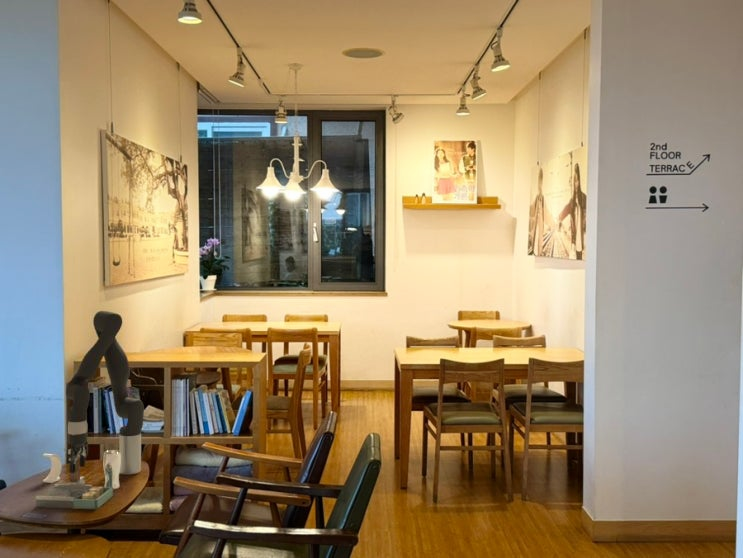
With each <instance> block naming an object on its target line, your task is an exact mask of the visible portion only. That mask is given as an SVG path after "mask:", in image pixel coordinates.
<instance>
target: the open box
mask: <svg viewBox="0 0 743 558" xmlns="http://www.w3.org/2000/svg"><path fill="white" fill-rule="evenodd" d="M91 487H93V485H92V484H83V485H79V484H67V483H55V484H54V487H52V488H51V489H50V490H48V491H47V492H45V493H44V494H42V495H35V507H36V508H44V509H45V508H49V509H69V510H70V509H72V510H73V509H74V499H82V495H83V494H84V493H86V492H89V489H91ZM74 510H75V509H74Z"/></svg>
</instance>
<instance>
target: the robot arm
mask: <svg viewBox="0 0 743 558" xmlns="http://www.w3.org/2000/svg"><path fill="white" fill-rule="evenodd" d="M92 322H93V328H94V330H95V333H96V335H97V337H98V339H97V340H96V342H95V344H93V345H92V347H91V348H89V350H88V351H87V352H86V353H85V354H84V356H83V358H82V360H81V362H80V364H79V367H78V369H77V370H76V371H77V372H76V373H75V374H74V375H73V377H72V378H71V379H70V381H69V382H68V385H67V386H66V389H65V396H66V397H67V398H68V399H70V400H72V401H73V402H72V406H70V407H69V409H68V422H67V443H68V444H69V445H70V448H67V449H66V455H65V456H66V457H65V458H66V461H65V464H66V465H69V466H68V467H69V469H68V470H69V472H70V473H75V466H76V464H75V463H76V460H77V459H78V458H80V468H81V467H82V468H83V467H85V466H86V458H87V456H88V455H89V441H88V422H87V421H88V417H87V416H88V412H87V411H88V410H87V409H88V406H89V402H90V397H91V392H90V389H89V387H88V386H87V383H88V382H89V381H91V380H94V377H95V375H96V374H97V371H98V369H99V366H100V364H101V362H102V360H103V358H104V362H105V366H106V370H107V374H108V377H109V381H110V386H111V389H112V395H113V403H114V409H115V413H116V415H117V416H118V417H119V418H122V419H126V420H127V422H126V425H123V426H121V427H120V428H119V443H118V444H119V447H118V448H119V449H118V450H119V451H121V468H120V473H119V475H127V476H128V475H129V476H130V475H135V474H139V473H140V472H141V471H142V428H143V425H144V410H145V406H144V403H143V401H142V400H141V399H138V398H135V397H134V398H133V397H130V395H129V393H128V389H127V385H128V380H129V378H130V374H131V368H130V364H129V358H128V356H127V354H126V353H125V351H124V349H123V348H122V346H121V345H120V343H119V341H118V340H117V338H116V336H117V335H118V334H119V332H120V330H121V329H122V325H123V319H122V316H121V314H119V313H117V312H114V311H108V310H100V311H98V312H96V313H95V315H94V317H93V320H92ZM73 459H74V461H73Z"/></svg>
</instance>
